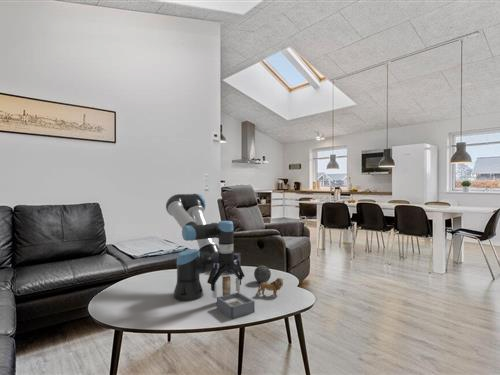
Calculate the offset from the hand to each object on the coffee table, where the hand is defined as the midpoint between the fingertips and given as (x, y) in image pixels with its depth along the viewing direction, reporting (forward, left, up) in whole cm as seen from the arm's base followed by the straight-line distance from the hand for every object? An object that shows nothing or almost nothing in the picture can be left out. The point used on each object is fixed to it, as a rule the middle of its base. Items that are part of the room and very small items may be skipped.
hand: (226, 294), depth 148 cm
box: (+12, -2, -3) cm, 13 cm away
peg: (0, 0, -3) cm, 3 cm away
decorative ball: (-13, +32, -4) cm, 34 cm away
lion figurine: (+6, +23, -4) cm, 24 cm away
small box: (-45, +28, -4) cm, 53 cm away
